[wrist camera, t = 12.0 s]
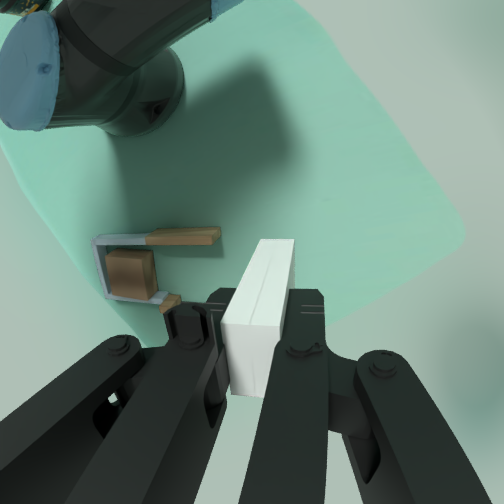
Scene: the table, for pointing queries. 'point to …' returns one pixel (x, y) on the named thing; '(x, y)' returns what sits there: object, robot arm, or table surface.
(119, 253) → the block
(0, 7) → the supplement container
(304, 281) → the table surface
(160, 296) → the dock
